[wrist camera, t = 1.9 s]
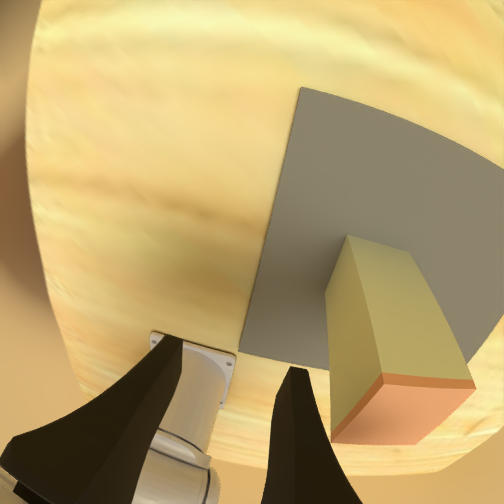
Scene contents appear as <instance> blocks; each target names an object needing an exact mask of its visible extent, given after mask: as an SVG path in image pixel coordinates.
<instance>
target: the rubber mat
mask: <svg viewBox="0 0 504 504" xmlns="http://www.w3.org/2000/svg"><path fill="white" fill-rule="evenodd" d="M347 235H351V236H354V237H358V238H361V239H365V240H369V241H372V242H376V243H379V244H383V245H386V246H390V247H393V248H397V249H400V250H403V251H407V252H409V253H410V255H411V256H412V258H413V260H414V261H415V263H416V265H417V266H418V268H419V270H420V272H421V273H422V275H423V277H424V279H425V280H426V282H427V284H428V286H429V288H430V289H431V291H432V293H433V295H434V297H435V299H436V301H437V302H438V304H439V306H440V308H441V310H442V312H443V314H444V316H445V318H446V320H447V322H448V324H449V326H450V328H451V330H452V333H453V335H454V337H455V339H456V341H457V343H458V346H459V348H460V350H461V352H462V355H463V357H464V359H465V362H466V364H467V363H468V362H469V361H470V360H471V358H472V357H473V356H474V355H475V353H476V352H477V351H478V350H479V348H480V347H481V346H482V344H483V343H484V342H485V340H486V339H487V337H488V336H489V335H490V333H491V332H492V330H493V329H494V328H495V326H496V325H497V323H498V322H499V320H500V319H501V317H502V316H503V314H504V169H502V168H501V167H499V166H497V165H496V164H494V163H492V162H491V161H489V160H487V159H485V158H484V157H482V156H480V155H478V154H477V153H475V152H473V151H471V150H469V149H467V148H465V147H463V146H462V145H460V144H458V143H456V142H454V141H452V140H450V139H448V138H446V137H443V136H441V135H439V134H437V133H435V132H433V131H431V130H428V129H426V128H424V127H422V126H419V125H417V124H415V123H412V122H410V121H407V120H405V119H402V118H400V117H397V116H395V115H392V114H389V113H387V112H384V111H381V110H379V109H376V108H373V107H370V106H367V105H364V104H361V103H358V102H355V101H352V100H348V99H345V98H342V97H338V96H335V95H332V94H328V93H324V92H321V91H317V90H313V89H309V88H305V87H301V91H300V95H299V100H298V104H297V108H296V113H295V117H294V122H293V126H292V130H291V135H290V139H289V143H288V148H287V152H286V156H285V160H284V165H283V169H282V173H281V178H280V182H279V186H278V190H277V194H276V199H275V203H274V207H273V211H272V215H271V220H270V224H269V228H268V232H267V236H266V240H265V245H264V249H263V253H262V257H261V261H260V265H259V269H258V273H257V278H256V282H255V286H254V290H253V294H252V298H251V302H250V306H249V310H248V314H247V318H246V322H245V326H244V330H243V334H242V338H241V342H240V346H239V350H238V352H242V353H246V354H251V355H255V356H259V357H264V358H268V359H273V360H277V361H282V362H287V363H292V364H297V365H302V366H307V367H312V368H318V369H324V370H329V371H330V369H329V347H328V330H327V315H326V302H325V291H326V288H327V286H328V283H329V281H330V278H331V276H332V273H333V271H334V268H335V266H336V263H337V260H338V258H339V255H340V252H341V250H342V247H343V244H344V242H345V239H346V236H347Z"/></svg>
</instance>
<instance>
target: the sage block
mask: <svg viewBox="0 0 504 504" xmlns="http://www.w3.org/2000/svg"><path fill="white" fill-rule="evenodd" d="M325 302H326V315H327V330H328V347H329V369H330V405H331V443H341V444H358V445H415V444H417V443H418V442H419V441H421V440H422V439H423V438H424V437H426V436H427V435H428V434H429V433H430V432H432V431H433V430H434V429H435V428H436V427H437V426H439V425H440V424H441V423H442V422H443V421H444V420H445V419H446V418H448V417H449V416H450V415H451V414H452V413H453V412H454V411H455V410H456V409H457V408H458V407H459V406H460V405H461V404H462V403H463V402H464V401H465V400H466V399H467V398H468V397H469V396H470V395H471V394H472V393H473V392H474V391H475V390H476V387H475V384H474V381H473V379H472V376H471V374H470V371H469V369H468V366H467V364H466V362H465V359H464V357H463V355H462V352H461V350H460V348H459V346H458V343H457V341H456V339H455V337H454V335H453V333H452V330H451V328H450V326H449V324H448V322H447V320H446V318H445V316H444V314H443V312H442V310H441V308H440V306H439V304H438V302H437V301H436V299H435V297H434V295H433V293H432V291H431V289H430V288H429V286H428V284H427V282H426V280H425V279H424V277H423V275H422V273H421V272H420V270H419V268H418V266H417V265H416V263H415V261H414V260H413V258H412V256H411V255H410V253H409V252H407V251H403V250H400V249H397V248H393V247H390V246H386V245H383V244H379V243H376V242H372V241H369V240H365V239H361V238H358V237H354V236H351V235H347V236H346V239H345V242H344V244H343V247H342V250H341V252H340V255H339V258H338V260H337V263H336V266H335V268H334V271H333V273H332V276H331V278H330V281H329V283H328V286H327V288H326V291H325Z"/></svg>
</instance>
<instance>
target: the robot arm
mask: <svg viewBox="0 0 504 504" xmlns="http://www.w3.org/2000/svg"><path fill="white" fill-rule="evenodd" d="M149 339H150V352H149V353H148V354H147V355H146V356H145V357H144V358H143V359H142V360H141V361H140V362H139V363H138V364H137V365H135V366H134V367H133V368H132V369H131V370H130V371H129V372H128V373H127V374H126V375H124V376H123V377H122V378H121V379H119V380H118V381H117V382H116V383H115V384H113V385H112V386H111V387H110V388H108V389H107V390H106V391H104V392H103V393H102V394H100V395H99V396H97V397H96V398H94V399H93V400H91V401H90V402H88V403H87V404H85V405H84V406H82V407H80V408H79V409H77V410H75V411H73V412H72V413H70V414H68V415H66V416H65V417H62V418H60V419H58V420H56V421H54V422H52V423H49V424H47V425H45V426H43V427H40V428H38V429H35V430H32V431H29V432H26V433H23V434H20V435H17V436H15V437H13V438H12V440H11V441H10V442H9V443H8V444H7V446H6V448H5V449H4V451H3V453H2V455H1V457H0V504H217V503H218V499H219V495H220V479H219V477H218V475H217V472H216V470H215V469H214V468H212V467H209V465H210V461H211V456H208V455H206V452H207V449H208V445H209V442H210V438H211V435H212V431H213V427H214V424H215V420H216V417H217V413H218V409H223V408H224V405H225V401H226V397H227V393H228V390H229V386H230V382H231V378H232V374H233V370H234V366H235V362H236V357H235V356H234V355H232V354H228V353H224V352H221V351H217V350H213V349H209V348H206V347H202V346H199V345H195V344H192V343H188V342H185V341H183V339H180V338H177V337H174V336H171V335H168V334H167V335H162V334H159V333H156V332H152V333H151V334H150V336H149ZM229 362H230V363H229ZM4 470H5V471H6V472H8V473H9V474H10V475H11V476H13V477H14V478H15V479H16V480H15V479H14V478H13V477H11V476H10V475H9V474H8V473H6V472H5V471H4ZM17 480H18V481H17ZM261 504H363V503H362V502H361V500H360V499H359V497H358V496H357V494H356V492H355V491H354V489H353V488H352V486H351V485H350V483H349V481H348V479H347V478H346V476H345V474H344V472H343V470H342V468H341V466H340V464H339V462H338V460H337V458H336V456H335V454H334V452H333V449H332V447H331V444H330V442H329V439H328V437H327V434H326V432H325V429H324V426H323V423H322V420H321V417H320V414H319V411H318V408H317V405H316V401H315V397H314V394H313V390H312V386H311V382H310V377H309V372H308V371H307V369H302V368H297V367H292V366H290V368H289V370H288V372H287V374H286V376H285V378H284V380H283V383H282V385H281V387H280V389H279V391H278V393H277V395H276V399H275V404H274V409H273V415H272V421H271V433H270V446H269V459H268V470H267V478H266V483H265V488H264V492H263V497H262V501H261Z"/></svg>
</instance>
